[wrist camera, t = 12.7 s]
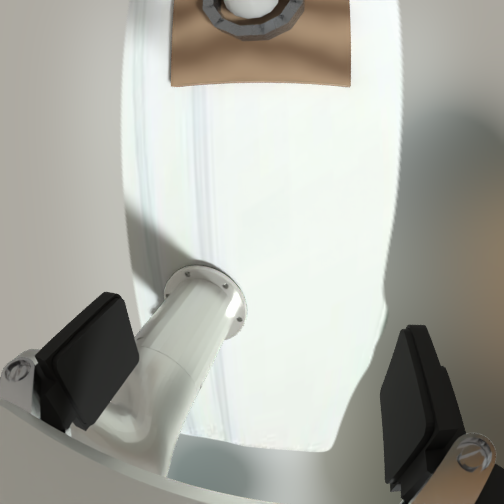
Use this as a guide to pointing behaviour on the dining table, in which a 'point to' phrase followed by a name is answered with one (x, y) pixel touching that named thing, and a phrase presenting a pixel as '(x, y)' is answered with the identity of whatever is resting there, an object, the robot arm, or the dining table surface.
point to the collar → (255, 31)
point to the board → (262, 47)
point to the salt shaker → (250, 7)
